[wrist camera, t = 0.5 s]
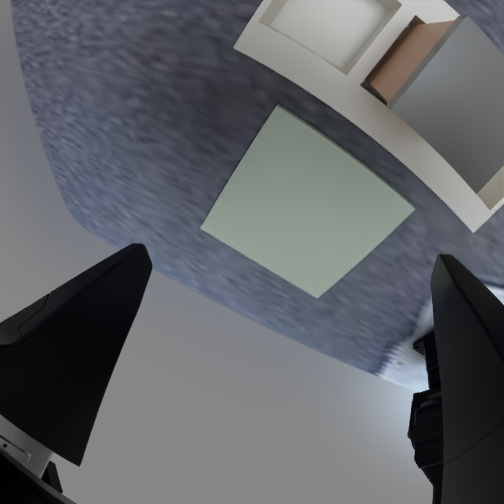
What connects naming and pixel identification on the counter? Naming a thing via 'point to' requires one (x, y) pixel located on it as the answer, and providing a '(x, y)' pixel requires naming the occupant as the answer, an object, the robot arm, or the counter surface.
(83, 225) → the counter surface
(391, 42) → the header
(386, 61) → the tan rectangular block
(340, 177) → the mat
